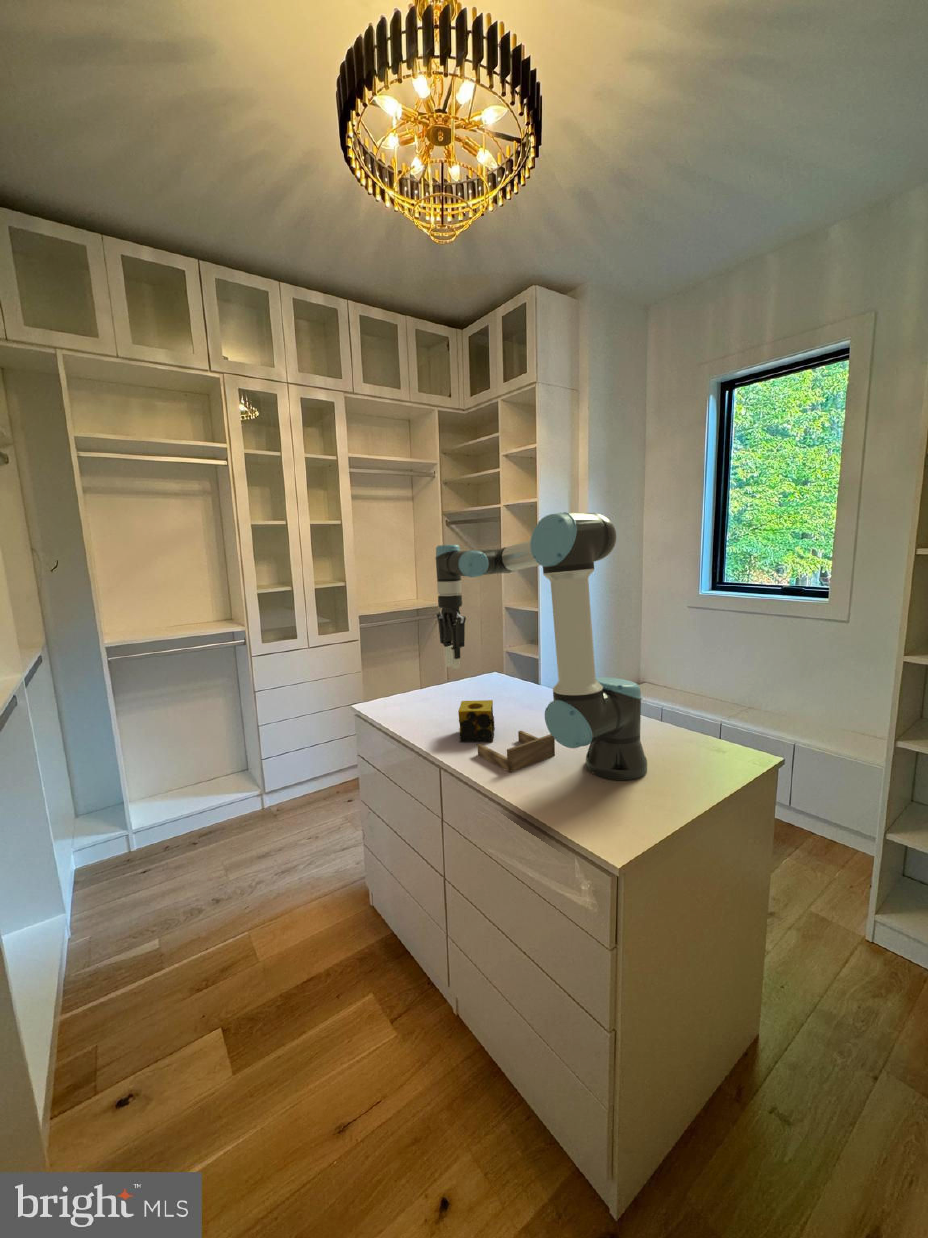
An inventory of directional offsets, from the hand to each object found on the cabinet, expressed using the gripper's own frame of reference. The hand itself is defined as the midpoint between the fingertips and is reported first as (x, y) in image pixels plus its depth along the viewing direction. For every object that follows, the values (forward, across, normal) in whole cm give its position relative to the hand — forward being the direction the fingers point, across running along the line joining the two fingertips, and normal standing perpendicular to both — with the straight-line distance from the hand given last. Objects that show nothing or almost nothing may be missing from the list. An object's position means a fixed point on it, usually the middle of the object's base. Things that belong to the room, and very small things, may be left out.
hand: (453, 667), depth 159 cm
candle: (+20, -12, 0) cm, 23 cm away
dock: (+20, -30, 0) cm, 36 cm away
